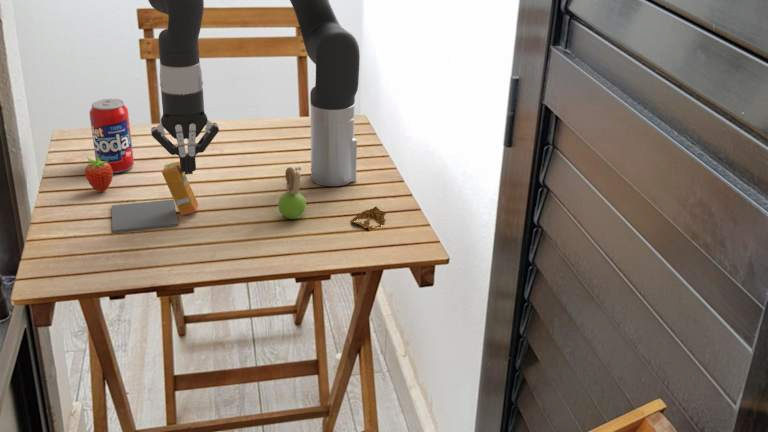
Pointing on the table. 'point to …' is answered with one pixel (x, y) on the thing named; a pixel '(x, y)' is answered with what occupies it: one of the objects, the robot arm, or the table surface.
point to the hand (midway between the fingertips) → (188, 172)
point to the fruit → (99, 174)
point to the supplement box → (180, 188)
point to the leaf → (370, 217)
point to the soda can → (112, 133)
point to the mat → (143, 215)
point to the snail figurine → (292, 196)
